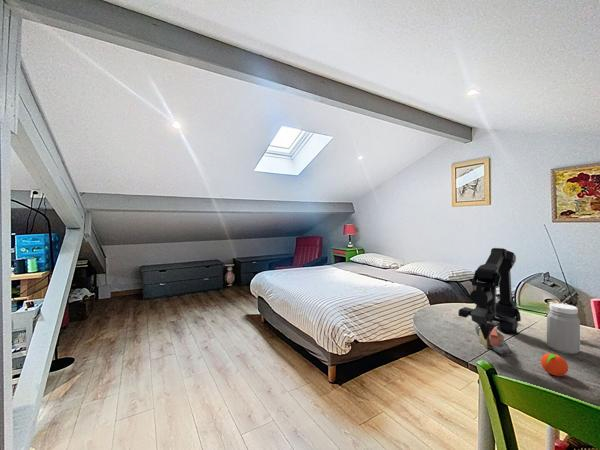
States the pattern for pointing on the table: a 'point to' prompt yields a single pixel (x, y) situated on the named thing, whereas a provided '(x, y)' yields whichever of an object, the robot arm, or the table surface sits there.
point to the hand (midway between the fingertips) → (486, 339)
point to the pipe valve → (500, 349)
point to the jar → (563, 328)
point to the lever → (494, 338)
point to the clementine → (554, 364)
